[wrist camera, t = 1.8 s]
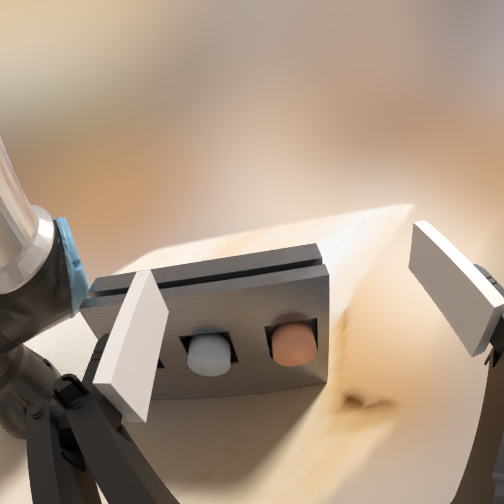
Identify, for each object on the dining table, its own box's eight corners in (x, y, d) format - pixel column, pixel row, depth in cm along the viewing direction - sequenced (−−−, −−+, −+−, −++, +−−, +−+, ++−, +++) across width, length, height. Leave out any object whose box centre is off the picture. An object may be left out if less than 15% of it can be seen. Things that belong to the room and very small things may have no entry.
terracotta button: (275, 369, 27) (270, 343, 25) (273, 349, 29) (268, 322, 27) (317, 362, 27) (316, 335, 25) (312, 343, 29) (311, 315, 27)
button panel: (142, 399, 33) (78, 308, 25) (149, 369, 37) (95, 278, 29) (327, 382, 32) (329, 274, 23) (319, 351, 36) (316, 243, 28)
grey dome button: (194, 377, 27) (181, 353, 25) (196, 358, 29) (184, 333, 27) (234, 374, 27) (224, 349, 25) (234, 354, 29) (225, 328, 27)
